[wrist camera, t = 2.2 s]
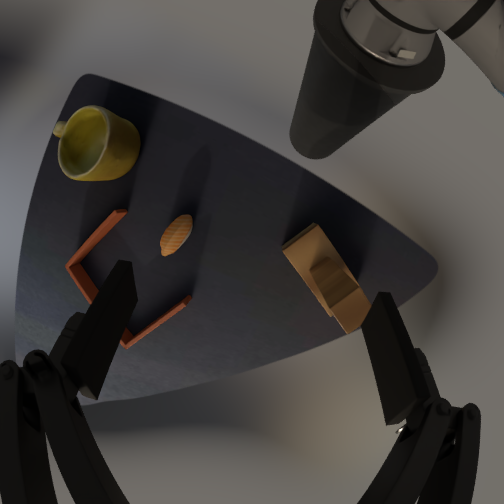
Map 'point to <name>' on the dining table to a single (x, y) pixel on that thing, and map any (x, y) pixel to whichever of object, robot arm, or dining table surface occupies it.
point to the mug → (96, 145)
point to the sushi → (176, 234)
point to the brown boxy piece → (328, 276)
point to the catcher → (91, 290)
